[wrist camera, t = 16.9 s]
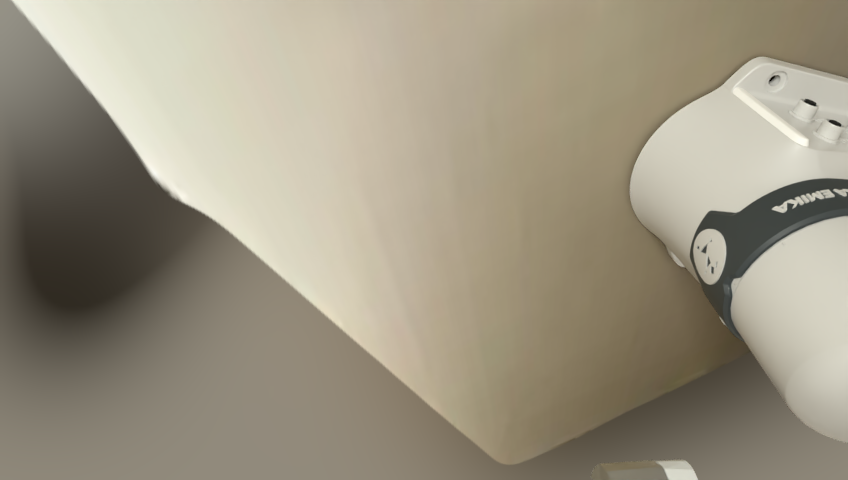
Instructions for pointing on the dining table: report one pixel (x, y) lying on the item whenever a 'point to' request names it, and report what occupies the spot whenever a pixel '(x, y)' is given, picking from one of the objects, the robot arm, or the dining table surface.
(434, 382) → the dining table surface
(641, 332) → the dining table surface
